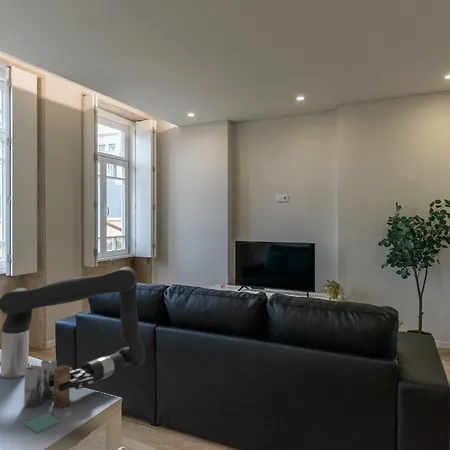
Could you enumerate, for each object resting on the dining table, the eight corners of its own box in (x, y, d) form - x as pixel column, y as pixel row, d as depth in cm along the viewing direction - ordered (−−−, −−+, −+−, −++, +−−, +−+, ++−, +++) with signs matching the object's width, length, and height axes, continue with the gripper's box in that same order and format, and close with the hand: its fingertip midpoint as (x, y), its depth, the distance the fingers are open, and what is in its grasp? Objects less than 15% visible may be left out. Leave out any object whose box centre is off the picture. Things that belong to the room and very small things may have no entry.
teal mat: (24, 424, 110) (24, 422, 110) (46, 414, 115) (46, 412, 115) (37, 433, 106) (37, 431, 106) (59, 422, 112) (59, 420, 112)
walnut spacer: (50, 404, 121) (51, 369, 121) (63, 398, 126) (64, 364, 125) (59, 409, 119) (59, 372, 119) (72, 403, 123) (72, 367, 123)
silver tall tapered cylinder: (21, 405, 120) (21, 369, 120) (35, 399, 124) (36, 364, 124) (29, 409, 118) (29, 373, 118) (43, 403, 122) (44, 368, 122)
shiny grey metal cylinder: (37, 395, 127) (38, 361, 127) (50, 390, 131) (51, 357, 131) (45, 400, 124) (46, 365, 124) (58, 394, 128) (59, 361, 128)
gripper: (86, 354, 138) (42, 368, 124) (111, 364, 130) (67, 381, 116) (85, 374, 138) (41, 390, 124) (110, 385, 130) (66, 404, 116)
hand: (54, 386), depth 120 cm, fingers closed on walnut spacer, 4 cm apart
